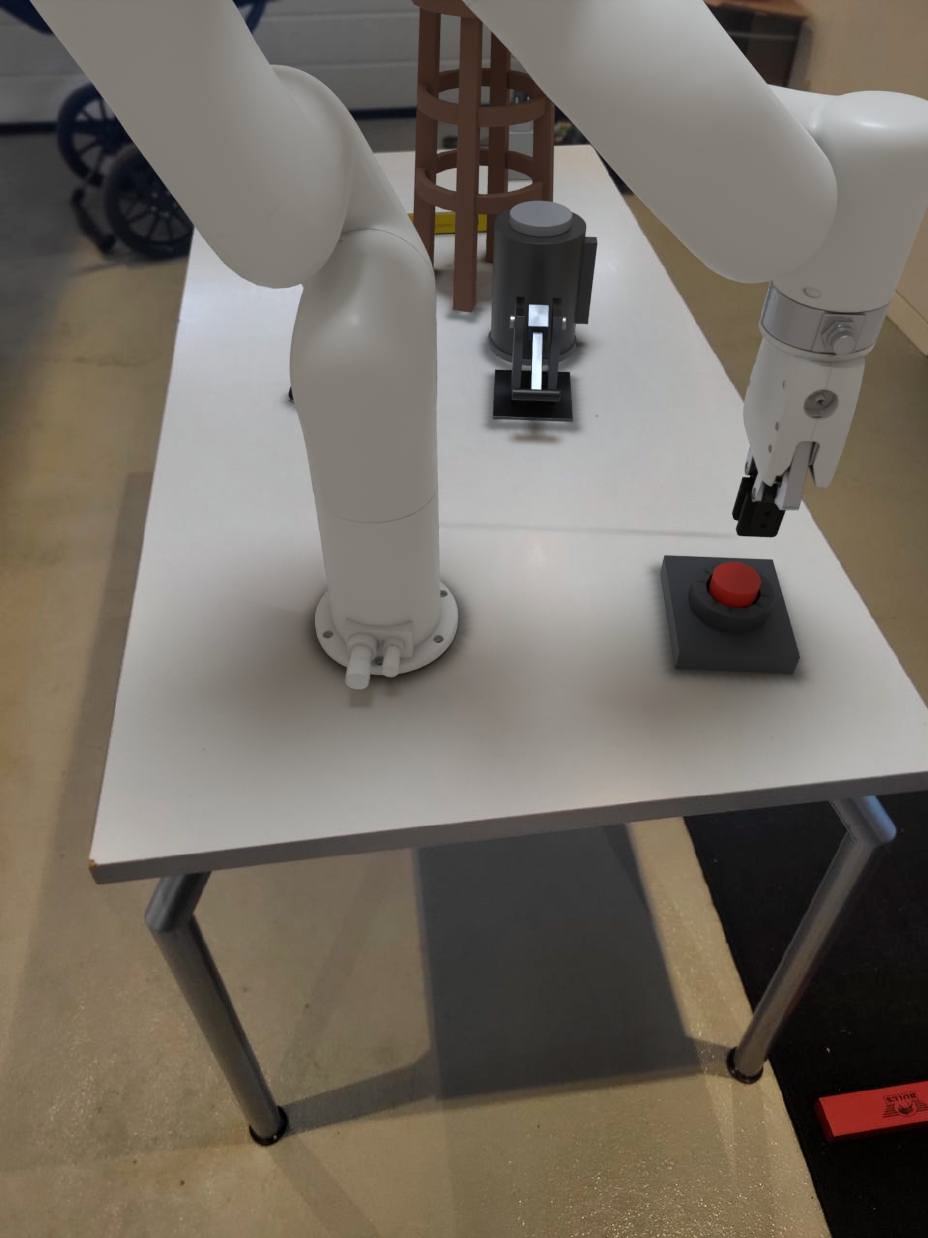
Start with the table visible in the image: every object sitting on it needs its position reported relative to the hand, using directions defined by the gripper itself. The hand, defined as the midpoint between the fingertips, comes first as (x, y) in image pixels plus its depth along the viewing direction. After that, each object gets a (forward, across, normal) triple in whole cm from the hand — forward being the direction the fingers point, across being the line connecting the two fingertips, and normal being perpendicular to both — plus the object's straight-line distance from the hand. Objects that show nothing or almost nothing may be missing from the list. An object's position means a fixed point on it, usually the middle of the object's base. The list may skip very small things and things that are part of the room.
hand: (753, 525), depth 71 cm
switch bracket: (+11, +34, +17) cm, 40 cm away
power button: (+8, 0, 0) cm, 8 cm away
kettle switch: (+4, +31, +17) cm, 35 cm away
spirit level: (+11, +78, +40) cm, 88 cm away
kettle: (+11, +47, +16) cm, 51 cm away
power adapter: (+11, +103, +19) cm, 105 cm away
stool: (+11, +63, +24) cm, 68 cm away
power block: (+11, 0, 0) cm, 11 cm away
